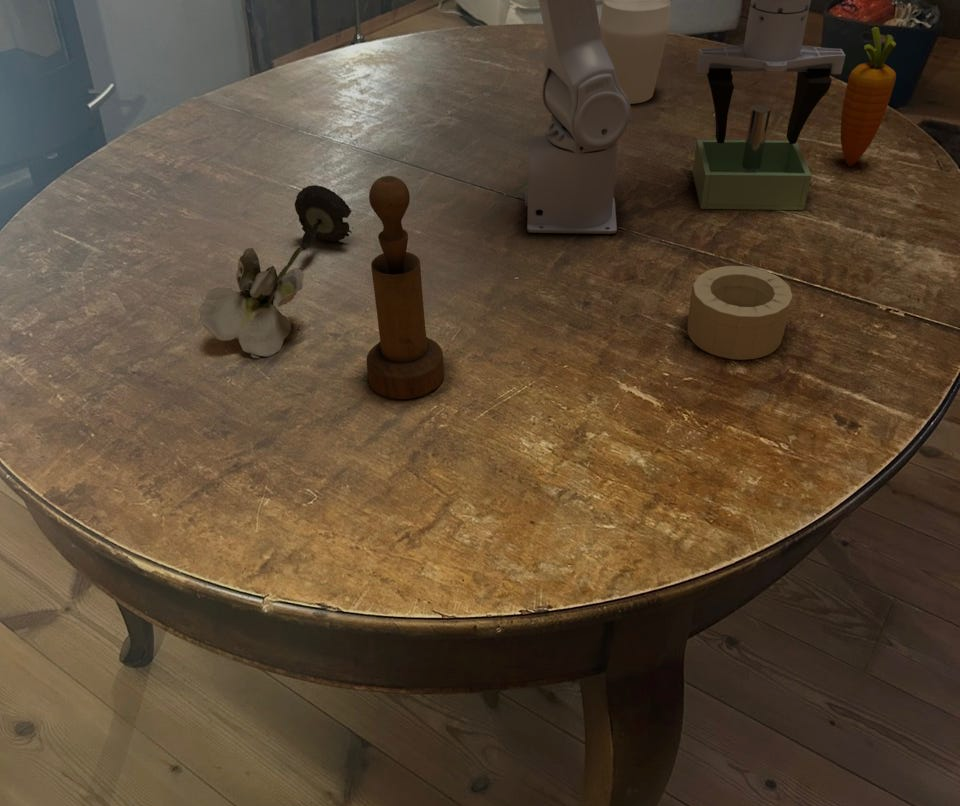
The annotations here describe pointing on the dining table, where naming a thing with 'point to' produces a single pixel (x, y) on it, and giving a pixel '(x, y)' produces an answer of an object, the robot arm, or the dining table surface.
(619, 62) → the cup
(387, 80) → the dining table surface
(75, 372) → the dining table surface
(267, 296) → the artificial flower
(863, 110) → the carrot
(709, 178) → the bin
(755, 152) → the metallic cylinder
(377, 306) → the mortar and pestle
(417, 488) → the dining table surface
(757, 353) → the beige round bowl
